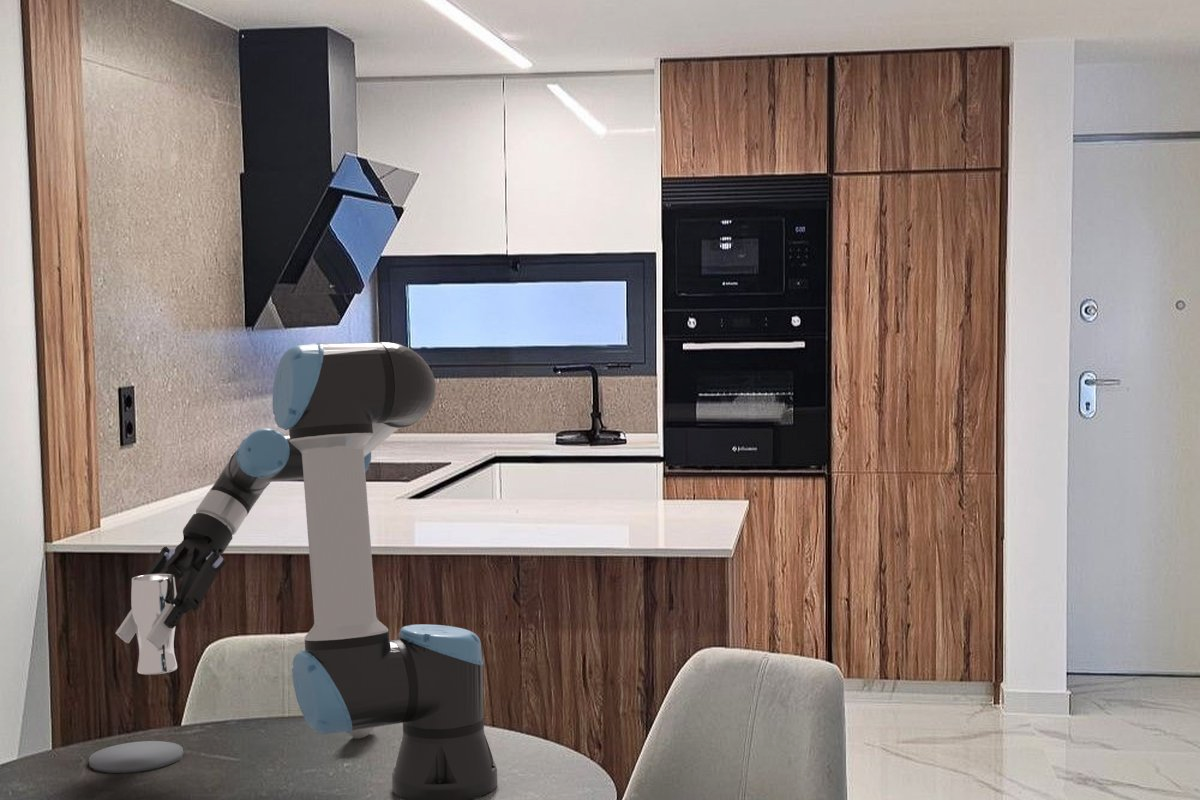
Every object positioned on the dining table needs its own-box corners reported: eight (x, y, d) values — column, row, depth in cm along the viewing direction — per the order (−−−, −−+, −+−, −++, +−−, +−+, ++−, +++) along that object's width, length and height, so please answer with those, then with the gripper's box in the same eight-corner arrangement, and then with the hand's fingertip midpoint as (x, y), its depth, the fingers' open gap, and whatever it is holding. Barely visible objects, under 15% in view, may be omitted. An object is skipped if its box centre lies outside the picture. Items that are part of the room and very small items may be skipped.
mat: (200, 757, 228) (200, 752, 228) (117, 778, 218) (117, 773, 218) (154, 740, 238) (153, 736, 238) (72, 760, 228) (72, 755, 228)
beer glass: (166, 676, 229) (162, 581, 228) (126, 675, 230) (121, 580, 229) (188, 665, 236) (183, 573, 235) (148, 664, 237) (144, 573, 236)
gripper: (268, 541, 239) (193, 660, 226) (188, 534, 250) (112, 647, 238) (241, 513, 234) (163, 633, 222) (161, 507, 246) (83, 621, 233)
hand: (137, 640), depth 230 cm, fingers closed on beer glass, 7 cm apart
